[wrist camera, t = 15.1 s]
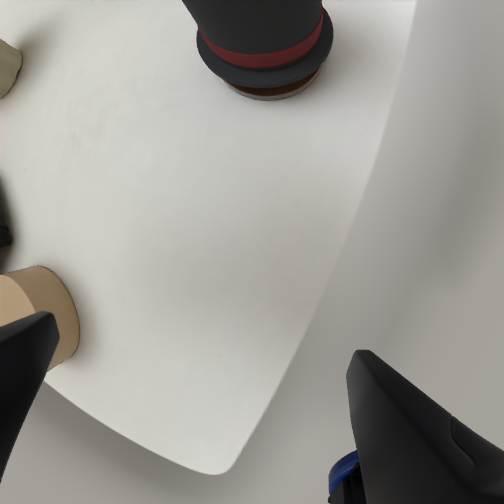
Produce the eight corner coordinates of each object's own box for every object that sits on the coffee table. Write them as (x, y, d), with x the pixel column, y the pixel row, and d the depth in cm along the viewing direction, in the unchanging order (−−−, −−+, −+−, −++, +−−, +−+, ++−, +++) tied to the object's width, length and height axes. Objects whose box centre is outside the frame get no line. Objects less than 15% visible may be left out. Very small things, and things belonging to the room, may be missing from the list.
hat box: (82, 285, 22) (45, 299, 17) (79, 374, 23) (51, 396, 19) (19, 253, 23) (-15, 260, 18) (19, 334, 24) (-9, 348, 20)
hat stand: (331, 28, 16) (334, 4, 13) (309, 111, 17) (311, 95, 15) (233, 12, 17) (224, -11, 14) (204, 91, 18) (189, 74, 15)
